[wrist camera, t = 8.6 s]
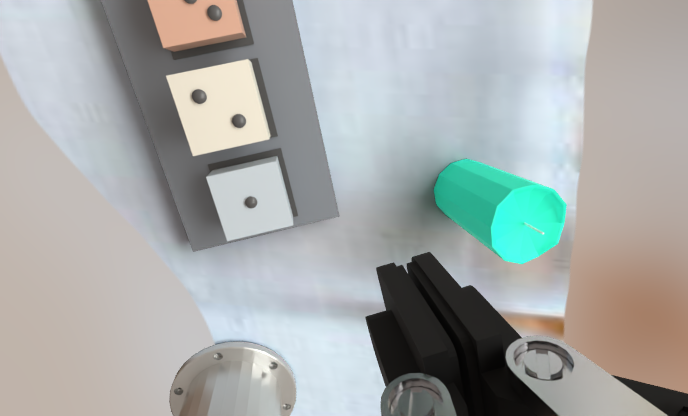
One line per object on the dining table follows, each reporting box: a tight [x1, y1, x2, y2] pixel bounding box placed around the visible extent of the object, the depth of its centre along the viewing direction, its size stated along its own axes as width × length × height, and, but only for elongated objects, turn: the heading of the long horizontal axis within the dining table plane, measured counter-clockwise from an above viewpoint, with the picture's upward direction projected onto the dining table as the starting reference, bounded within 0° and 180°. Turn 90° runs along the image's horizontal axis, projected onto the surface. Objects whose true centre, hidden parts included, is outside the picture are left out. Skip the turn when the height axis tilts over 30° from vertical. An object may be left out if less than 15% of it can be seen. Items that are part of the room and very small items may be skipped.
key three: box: [148, 0, 246, 52], centre depth 25 cm, size 5×5×3 cm
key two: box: [166, 59, 271, 156], centre depth 25 cm, size 5×5×3 cm
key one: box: [206, 156, 293, 241], centre depth 29 cm, size 5×5×2 cm
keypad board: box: [101, 0, 339, 252], centre depth 30 cm, size 22×13×2 cm, turn 11°
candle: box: [434, 159, 566, 264], centre depth 30 cm, size 6×6×12 cm
